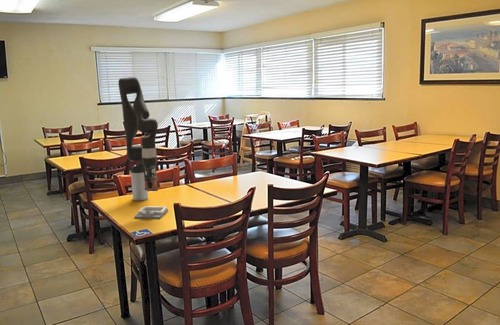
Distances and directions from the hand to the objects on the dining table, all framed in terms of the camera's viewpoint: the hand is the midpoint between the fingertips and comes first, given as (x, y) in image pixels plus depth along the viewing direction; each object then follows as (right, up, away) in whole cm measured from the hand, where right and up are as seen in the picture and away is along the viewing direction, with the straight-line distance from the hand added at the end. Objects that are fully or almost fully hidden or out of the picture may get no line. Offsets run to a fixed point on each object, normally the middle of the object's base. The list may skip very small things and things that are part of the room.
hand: (151, 187), depth 231 cm
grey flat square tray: (0, -15, 0) cm, 15 cm away
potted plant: (0, -2, 0) cm, 2 cm away
